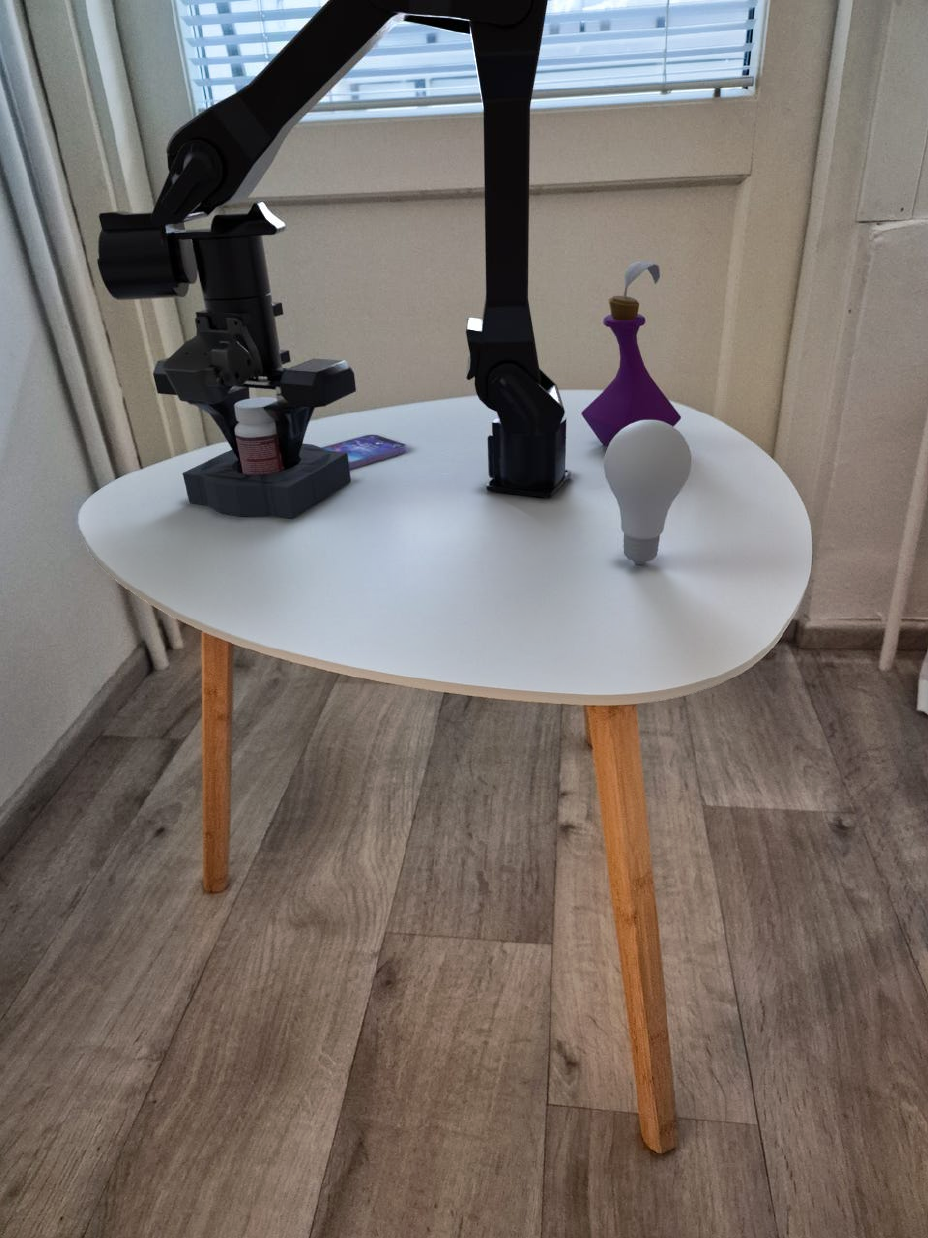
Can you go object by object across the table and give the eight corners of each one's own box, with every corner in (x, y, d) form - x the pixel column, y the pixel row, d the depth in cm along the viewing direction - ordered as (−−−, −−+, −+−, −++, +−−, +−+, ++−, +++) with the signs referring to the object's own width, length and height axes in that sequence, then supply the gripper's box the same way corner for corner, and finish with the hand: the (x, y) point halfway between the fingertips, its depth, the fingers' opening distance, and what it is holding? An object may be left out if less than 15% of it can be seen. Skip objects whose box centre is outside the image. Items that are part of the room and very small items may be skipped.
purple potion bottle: (621, 461, 80) (633, 269, 71) (579, 442, 86) (584, 262, 77) (679, 447, 83) (697, 261, 74) (634, 430, 89) (646, 255, 80)
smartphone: (253, 465, 83) (372, 433, 91) (255, 474, 84) (373, 441, 92) (287, 481, 78) (410, 445, 86) (289, 490, 78) (410, 453, 86)
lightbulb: (664, 588, 57) (678, 439, 52) (586, 570, 60) (591, 427, 55) (691, 555, 62) (707, 414, 56) (617, 540, 65) (625, 405, 59)
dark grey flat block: (357, 477, 80) (354, 448, 78) (285, 524, 70) (280, 492, 69) (260, 465, 84) (255, 437, 83) (180, 506, 75) (173, 476, 73)
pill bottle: (297, 494, 75) (282, 406, 71) (245, 500, 75) (228, 411, 70) (295, 477, 79) (282, 393, 75) (247, 483, 79) (230, 398, 74)
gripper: (85, 308, 66) (133, 486, 73) (267, 314, 58) (299, 511, 66) (179, 287, 74) (213, 449, 82) (348, 291, 67) (368, 467, 75)
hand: (268, 468), depth 76 cm, fingers closed on pill bottle, 5 cm apart
